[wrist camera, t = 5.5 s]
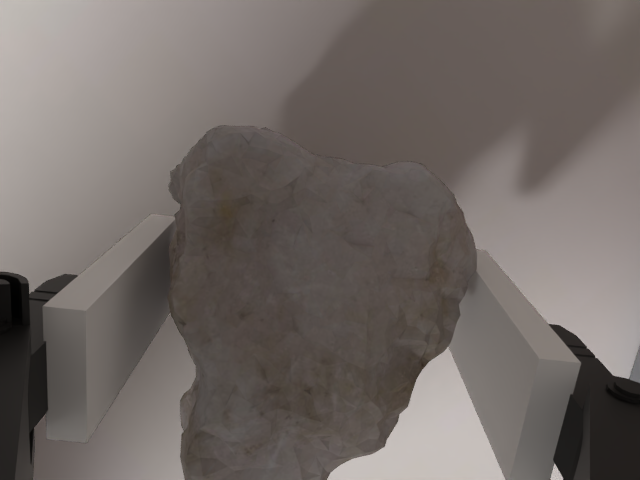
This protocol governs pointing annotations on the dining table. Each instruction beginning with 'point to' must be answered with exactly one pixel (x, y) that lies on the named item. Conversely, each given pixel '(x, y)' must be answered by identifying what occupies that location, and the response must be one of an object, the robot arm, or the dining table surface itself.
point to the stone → (305, 301)
